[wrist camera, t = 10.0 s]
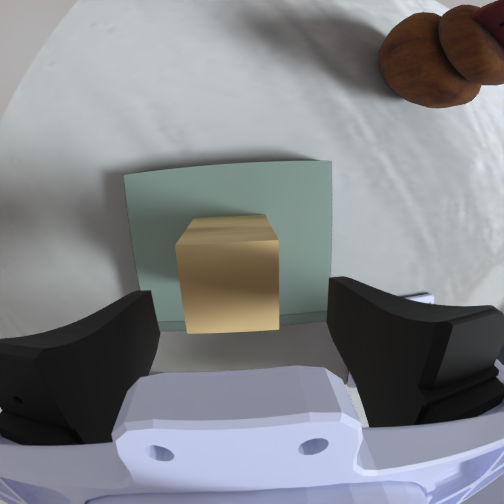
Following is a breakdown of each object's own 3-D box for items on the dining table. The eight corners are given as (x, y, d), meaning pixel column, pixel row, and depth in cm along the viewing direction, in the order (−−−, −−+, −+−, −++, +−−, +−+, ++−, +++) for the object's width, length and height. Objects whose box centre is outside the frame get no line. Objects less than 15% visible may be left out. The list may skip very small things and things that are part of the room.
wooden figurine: (352, 56, 18) (485, -32, 4) (395, 27, 17) (518, -43, 3) (405, 125, 20) (568, 119, 5) (443, 91, 19) (585, 73, 4)
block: (266, 281, 20) (279, 329, 14) (200, 284, 20) (187, 333, 14) (265, 214, 18) (278, 240, 13) (193, 218, 18) (174, 245, 12)
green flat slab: (317, 301, 24) (328, 320, 21) (158, 311, 23) (149, 331, 20) (318, 160, 20) (331, 160, 18) (138, 172, 20) (123, 175, 17)
